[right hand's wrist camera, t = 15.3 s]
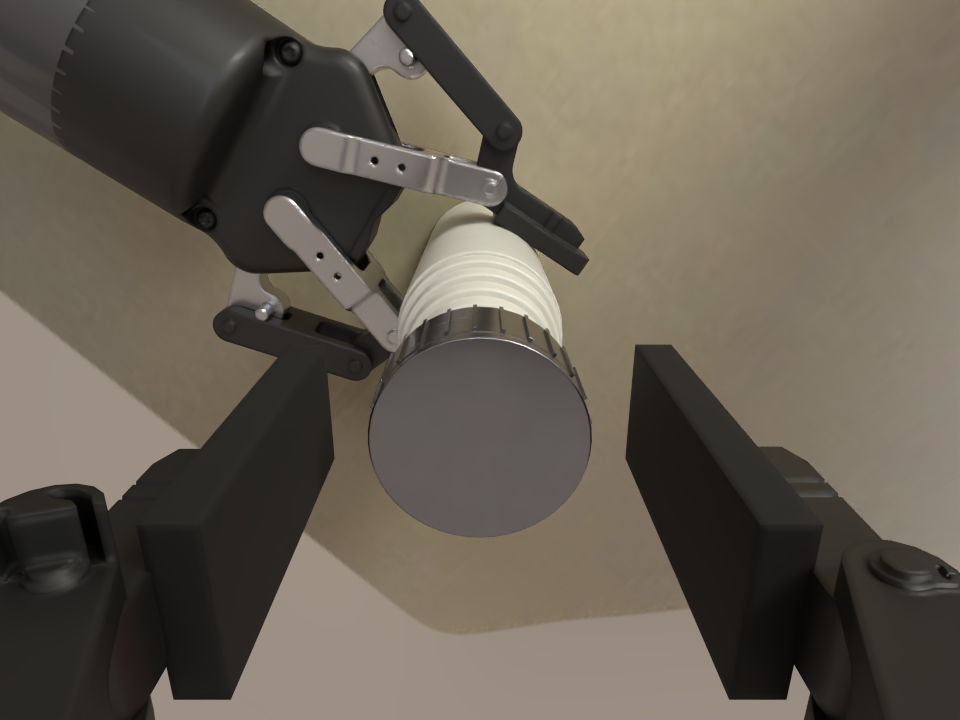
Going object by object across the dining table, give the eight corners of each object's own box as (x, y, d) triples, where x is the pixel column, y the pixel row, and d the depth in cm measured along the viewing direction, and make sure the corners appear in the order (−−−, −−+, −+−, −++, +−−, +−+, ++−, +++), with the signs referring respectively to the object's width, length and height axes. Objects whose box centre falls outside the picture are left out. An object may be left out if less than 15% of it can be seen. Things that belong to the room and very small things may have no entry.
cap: (339, 400, 14) (317, 445, 12) (477, 259, 13) (477, 284, 11) (481, 518, 15) (481, 577, 13) (619, 396, 14) (642, 441, 12)
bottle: (534, 202, 30) (614, 321, 12) (526, 303, 31) (586, 537, 14) (430, 196, 30) (357, 309, 12) (427, 298, 31) (360, 527, 14)
